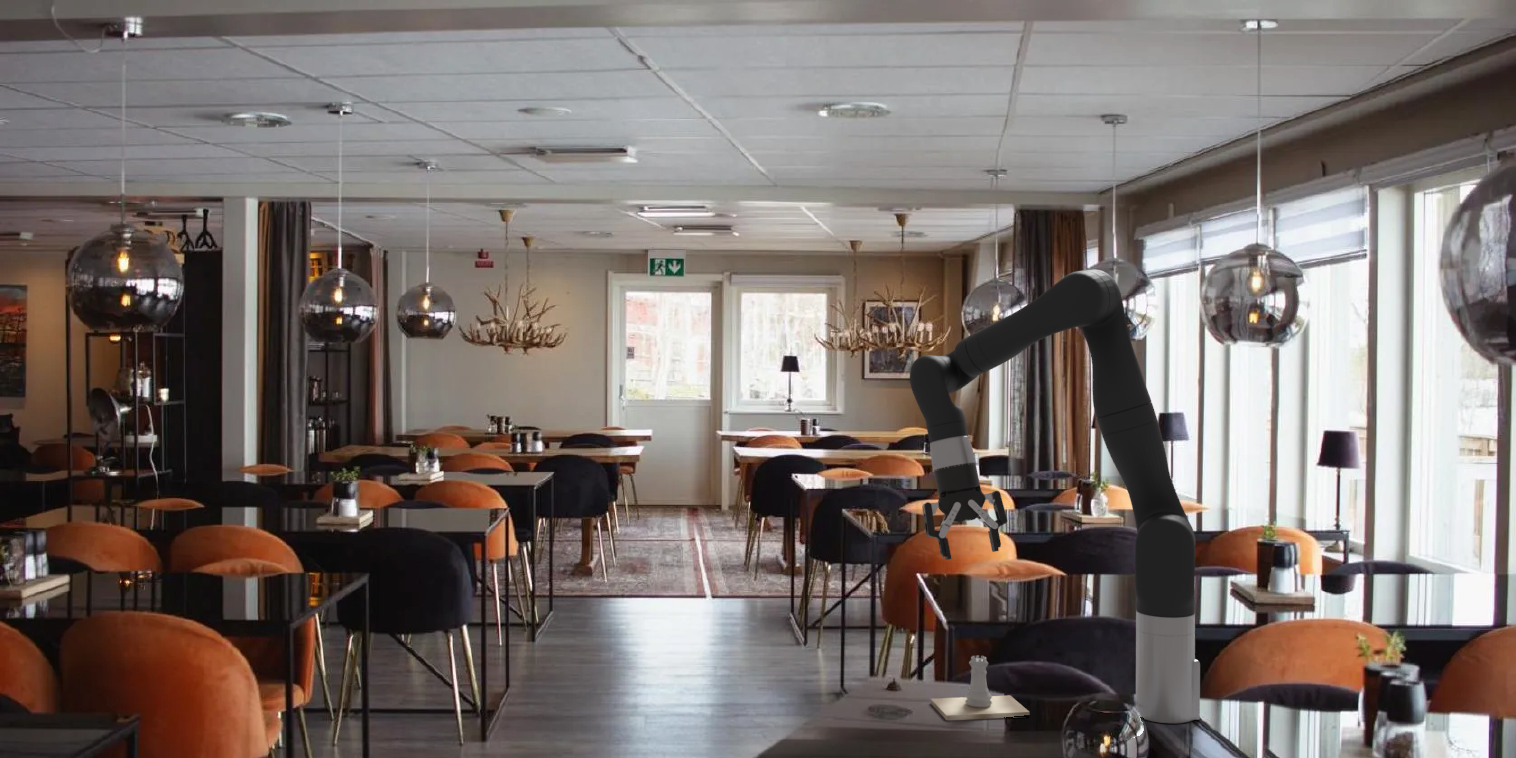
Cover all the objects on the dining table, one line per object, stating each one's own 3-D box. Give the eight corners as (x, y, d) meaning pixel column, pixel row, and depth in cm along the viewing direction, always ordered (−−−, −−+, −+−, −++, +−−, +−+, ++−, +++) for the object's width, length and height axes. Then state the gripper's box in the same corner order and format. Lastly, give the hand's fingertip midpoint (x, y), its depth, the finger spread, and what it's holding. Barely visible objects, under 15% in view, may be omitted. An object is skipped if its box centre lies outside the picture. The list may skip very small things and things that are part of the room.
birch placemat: (1010, 699, 223) (1010, 695, 223) (1029, 716, 213) (1029, 711, 213) (930, 703, 221) (930, 698, 221) (946, 720, 212) (946, 715, 211)
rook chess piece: (992, 709, 215) (992, 661, 215) (964, 707, 216) (964, 660, 215) (992, 701, 219) (992, 654, 219) (965, 700, 220) (965, 653, 220)
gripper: (918, 469, 227) (936, 561, 224) (997, 455, 228) (1016, 547, 225) (911, 473, 234) (928, 563, 231) (988, 460, 235) (1006, 549, 232)
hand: (972, 555), depth 228 cm, fingers open, 8 cm apart
